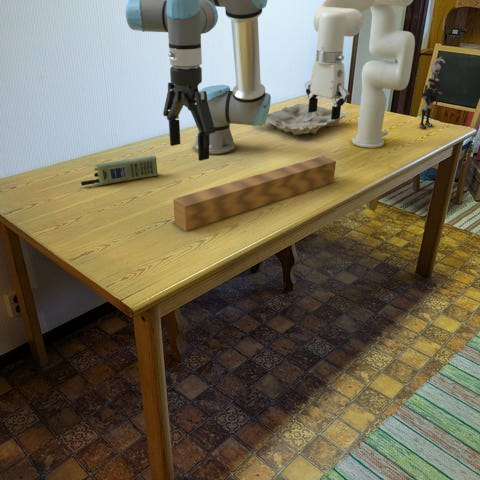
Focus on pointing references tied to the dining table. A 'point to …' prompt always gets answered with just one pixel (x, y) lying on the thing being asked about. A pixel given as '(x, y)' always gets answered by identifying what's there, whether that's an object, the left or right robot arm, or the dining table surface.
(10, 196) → the dining table surface
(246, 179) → the post
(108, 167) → the handheld radio
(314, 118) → the grey rock slab
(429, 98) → the figurine
